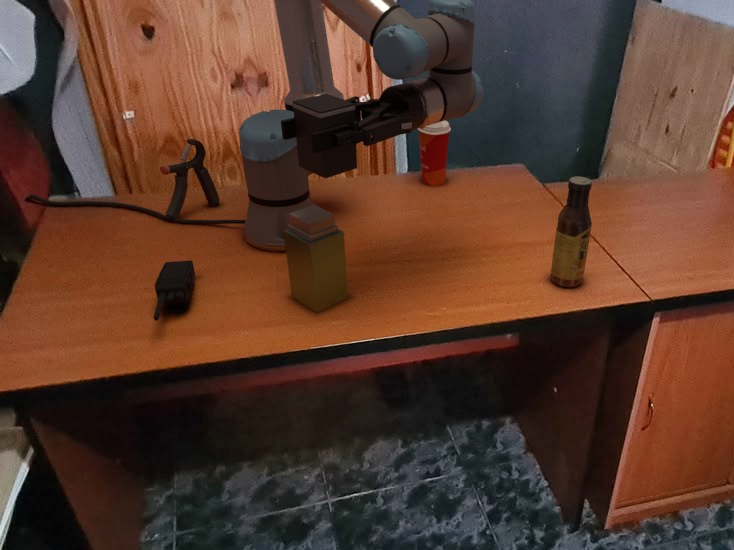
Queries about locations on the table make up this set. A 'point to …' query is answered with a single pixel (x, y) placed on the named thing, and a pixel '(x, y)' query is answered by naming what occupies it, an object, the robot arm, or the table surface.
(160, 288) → the walkie-talkie
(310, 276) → the olive square canister
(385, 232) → the table surface
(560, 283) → the sauce bottle
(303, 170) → the robot arm
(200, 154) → the hand grip strengthener
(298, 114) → the dark lidded box
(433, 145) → the paper cup
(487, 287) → the table surface
